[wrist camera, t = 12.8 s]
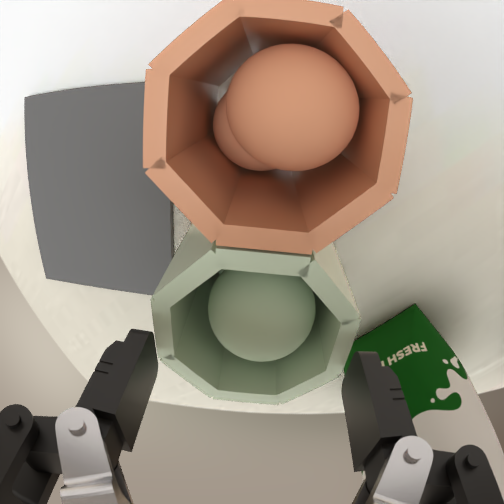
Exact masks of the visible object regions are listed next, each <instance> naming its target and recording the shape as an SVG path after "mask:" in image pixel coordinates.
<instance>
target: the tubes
mask: <svg viewBox="0 0 504 504" xmlns="http://www.w3.org/2000/svg"><path fill="white" fill-rule="evenodd" d="M279 44H302V45H307V46H311V47H314V48H316V49H319V50H321V51H323V52H325V53H327V54H328V55H330V56H331V57H333V58H334V59H335V60H337V61H338V62H339V63H340V64H341V65H342V66H343V67H344V69H345V70H346V71H347V73H348V74H349V76H350V77H351V79H352V81H353V83H354V85H355V88H356V91H357V94H358V99H359V120H358V124H357V128H356V130H355V133H354V135H353V137H352V139H351V141H350V142H349V144H348V145H347V147H346V148H345V149H344V150H343V151H342V152H341V153H340V154H339V155H338V156H337V157H335V158H334V159H333V160H331V161H330V162H328V163H326V164H324V165H322V166H319V167H317V168H314V169H309V170H305V171H285V170H279V169H273V170H269V171H255V170H249V169H246V168H243V167H241V166H238V165H237V164H235V163H233V162H232V161H231V160H229V159H228V158H227V157H226V156H225V155H224V153H223V152H222V151H221V149H220V148H219V146H218V144H217V142H216V139H215V136H214V132H213V117H214V113H215V109H216V107H217V105H218V103H219V101H220V100H221V98H222V97H223V95H224V94H225V93H226V92H227V91H228V87H229V85H230V82H231V80H232V78H233V76H234V74H235V73H236V71H237V70H238V68H239V67H240V66H241V65H242V64H243V63H244V62H245V61H246V60H247V59H248V58H250V57H251V56H252V55H254V54H255V53H257V52H259V51H261V50H263V49H265V48H268V47H271V46H275V45H279ZM148 65H149V66H150V67H151V68H152V69H146V76H145V93H144V118H143V168H149V169H148V170H147V171H146V172H145V174H146V175H147V176H148V177H149V178H150V179H151V180H152V181H153V182H154V183H155V184H156V185H157V186H158V187H159V189H160V190H161V191H162V192H163V193H164V194H165V195H166V196H167V197H168V198H169V199H170V200H171V201H172V202H173V203H174V204H175V206H176V207H177V208H178V209H179V210H180V211H181V212H182V213H183V214H184V215H185V216H186V217H187V218H188V219H189V220H190V221H191V227H190V228H189V230H188V232H187V234H186V235H185V237H184V239H183V241H182V242H181V244H180V246H179V248H178V250H177V251H176V253H175V255H174V257H173V259H172V260H171V262H170V264H169V266H168V268H167V270H166V271H165V273H164V275H163V277H162V279H161V281H160V283H159V284H158V286H157V288H156V290H155V292H154V294H153V296H152V298H151V307H152V316H153V324H154V332H155V339H156V347H157V353H158V358H161V359H160V361H161V362H163V363H164V364H165V365H166V366H168V367H169V368H170V369H172V370H173V371H174V372H175V373H177V374H178V375H179V376H181V377H182V378H183V379H185V380H186V381H187V382H189V383H190V384H191V385H193V386H194V387H196V388H197V389H198V390H200V391H201V392H202V393H204V394H205V395H207V396H208V397H213V399H218V400H227V401H236V402H247V403H259V404H273V405H279V402H280V403H281V404H284V403H286V402H288V401H290V400H293V399H295V398H297V397H299V396H301V395H303V394H305V393H308V392H310V391H312V390H314V389H316V388H318V387H320V386H322V385H324V384H326V383H328V382H330V381H332V380H334V379H336V378H338V377H339V375H341V373H342V371H343V368H344V366H345V363H346V361H347V358H348V355H349V353H350V350H351V347H352V345H353V342H354V339H355V336H356V334H357V331H358V328H359V325H360V322H361V316H360V313H359V310H358V307H357V304H356V302H355V299H354V296H353V293H352V291H351V288H350V285H349V283H348V280H347V277H346V275H345V272H344V269H343V267H342V264H341V262H340V259H339V257H338V254H337V252H336V249H335V246H334V244H333V241H335V240H336V239H338V238H339V237H341V236H342V235H343V234H345V233H346V232H348V231H349V230H350V229H352V228H353V227H355V226H356V225H357V224H359V223H360V222H362V221H363V220H364V219H366V218H367V217H369V216H370V215H371V214H373V213H374V212H375V211H377V210H378V209H380V208H381V207H382V206H384V205H385V204H386V203H388V202H389V201H391V200H392V199H393V196H392V194H391V193H394V194H397V189H398V185H399V180H400V175H401V170H402V165H403V159H404V154H405V148H406V142H407V136H408V130H409V124H410V117H411V109H412V102H413V98H411V97H407V96H408V95H410V94H411V91H410V90H409V88H408V86H407V85H406V83H405V82H404V80H403V79H402V78H401V76H400V75H399V73H398V72H397V70H396V69H395V67H394V66H393V65H392V63H391V62H390V61H389V59H388V58H387V56H386V55H385V54H384V52H383V51H382V50H381V48H380V47H379V46H378V45H377V43H376V42H375V41H374V39H373V38H372V37H371V36H370V34H369V33H368V32H367V31H366V29H365V28H364V27H363V26H362V25H361V23H360V22H359V21H358V20H357V19H356V18H355V16H354V15H353V14H352V13H351V12H350V11H349V10H347V11H345V12H344V13H343V7H342V6H337V5H332V4H327V3H321V2H315V1H308V0H222V1H221V2H220V3H218V4H217V5H216V6H215V7H213V8H212V9H211V10H209V11H208V12H207V13H206V14H204V15H203V16H202V17H201V18H199V19H198V20H197V21H196V22H194V23H193V24H192V25H191V26H190V27H189V28H187V29H186V30H185V31H184V32H183V33H182V34H180V35H179V36H178V37H177V38H176V39H175V40H174V41H172V42H171V43H170V44H169V45H168V46H167V47H166V48H165V49H164V50H163V51H162V52H161V53H159V54H158V55H157V56H156V57H155V58H154V59H153V60H152V61H151V62H150V63H149V64H148ZM221 269H226V270H236V271H247V272H257V273H267V274H278V275H289V276H300V277H302V279H303V280H304V281H305V282H306V283H307V284H308V285H309V287H310V288H311V289H312V291H313V294H314V297H315V305H316V312H315V319H314V323H313V326H312V328H311V331H310V333H309V335H308V336H307V338H306V339H305V341H304V342H303V343H302V344H301V345H300V346H299V347H298V348H297V349H296V350H295V351H293V352H292V353H290V354H289V355H287V356H285V357H282V358H280V359H277V360H273V361H265V362H257V361H250V360H247V359H244V358H241V357H239V356H236V355H235V354H233V353H232V352H230V351H229V350H228V349H226V348H225V347H224V346H223V345H222V344H221V343H220V341H219V340H218V339H217V337H216V336H215V334H214V332H213V330H212V328H211V324H210V321H209V315H208V301H209V296H210V292H211V289H212V287H213V285H214V283H215V281H216V280H217V278H218V277H219V275H220V274H219V271H220V270H221Z"/></svg>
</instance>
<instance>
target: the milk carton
mask: <svg viewBox="0 0 504 504" xmlns="http://www.w3.org/2000/svg"><path fill="white" fill-rule="evenodd" d="M356 351H363V352H377V353H378V355H379V358H380V361H381V364H382V366H389V367H390V368H391V369H392V371H393V372H394V373H395V374H396V375H397V376H398V379H399V382H400V385H401V388H402V389H401V390H402V391H403V394H404V397H405V400H406V403H407V406H408V409H409V412H410V415H411V418H412V421H413V424H414V427H415V431H416V434H417V436H418V437H420V438H422V439H424V440H425V441H426V442H427V443H428V444H429V445H430V446H431V448H432V449H434V450H439V451H446V452H453V453H456V452H457V451H458V450H459V449H460V448H461V447H462V446H464V445H475V446H477V447H479V448H481V449H482V450H483V451H484V453H485V454H486V456H487V459H488V461H489V464H490V466H491V469H492V471H493V474H494V476H495V479H496V481H497V484H498V486H499V489H500V492H501V495H502V497H503V500H504V454H503V451H502V448H501V445H500V442H499V440H498V438H497V435H496V433H495V431H494V428H493V426H492V424H491V422H490V420H489V417H488V415H487V413H486V411H485V409H484V406H483V404H482V402H481V400H480V398H479V396H478V394H477V392H476V390H475V388H474V386H473V384H472V382H471V380H470V378H469V376H468V374H467V373H466V371H465V369H464V367H463V366H462V364H461V362H460V361H459V359H458V358H457V356H456V355H455V353H454V352H453V350H452V349H451V348H450V347H449V345H448V344H447V343H446V341H445V340H444V339H443V338H442V336H441V335H440V334H439V333H438V331H437V330H436V329H435V328H434V326H433V325H432V324H431V323H430V321H429V320H428V319H427V318H426V316H425V315H424V314H423V313H422V311H421V310H420V309H419V308H418V306H417V305H416V304H414V305H412V306H411V307H409V308H408V309H406V310H405V311H403V312H402V313H400V314H398V315H397V316H395V317H394V318H392V319H390V320H389V321H387V322H386V323H384V324H382V325H381V326H379V327H377V328H376V329H374V330H372V331H371V332H369V333H367V334H366V335H364V336H362V337H361V338H359V339H357V340H355V341H354V342H353V345H352V347H351V350H350V353H349V355H348V358H347V361H346V363H345V366H344V368H343V369H344V374H346V372H347V370H348V367H349V365H350V362H351V360H352V357H353V355H354V353H355V352H356ZM362 478H363V481H364V480H365V478H366V475H365V471H362Z"/></svg>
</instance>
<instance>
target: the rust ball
mask: <svg viewBox="0 0 504 504" xmlns="http://www.w3.org/2000/svg"><path fill="white" fill-rule="evenodd" d="M226 96H227V92H226V93H225V94H224V95H223V97H222V98H221V100H220V101H219V103H218V105H217V107H216V109H215V113H214V117H213V132H214V136H215V139H216V142H217V144H218V146H219V148H220V149H221V151H222V152H223V153H224V155H225V156H226V157H227V158H228V159H229V160H231V161H232V162H233V163H235V164H237V165H238V166H241V167H243V168H246V169H249V170H255V171H269V170H273V169H275V168H272V167H269V166H267V165H264V164H263V163H261V162H259V161H257V160H255V159H254V158H253V157H251V156H250V155H249V154H248V153H247V152H246V151H245V150H244V149H243V148H242V147H241V146H240V145H239V143H238V142H237V141H236V139H235V138H234V136H233V134H232V132H231V130H230V127H229V124H228V120H227V115H226Z"/></svg>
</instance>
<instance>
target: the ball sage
mask: <svg viewBox="0 0 504 504" xmlns="http://www.w3.org/2000/svg"><path fill="white" fill-rule="evenodd" d="M315 312H316V305H315V297H314V294H313V291H312V289H311V288H310V287H309V285H308V284H307V283H306V282H305V281H304V280H303V279H302V277H300V276H289V275H278V274H267V273H257V272H247V271H236V270H226V269H225V270H224V271H223V272H222V273H221V274H220V275H219V277H218V278H217V280H216V281H215V283H214V285H213V287H212V289H211V292H210V296H209V301H208V315H209V321H210V324H211V328H212V330H213V332H214V334H215V336H216V337H217V339H218V340H219V341H220V343H221V344H222V345H223V346H224V347H225V348H226V349H228V350H229V351H230V352H232V353H233V354H235V355H236V356H239V357H241V358H244V359H247V360H250V361H257V362H265V361H273V360H277V359H280V358H282V357H285V356H287V355H289V354H290V353H292V352H293V351H295V350H296V349H297V348H298V347H299V346H300V345H301V344H302V343H303V342H304V341H305V339H306V338H307V336H308V335H309V333H310V331H311V328H312V326H313V323H314V319H315Z"/></svg>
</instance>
